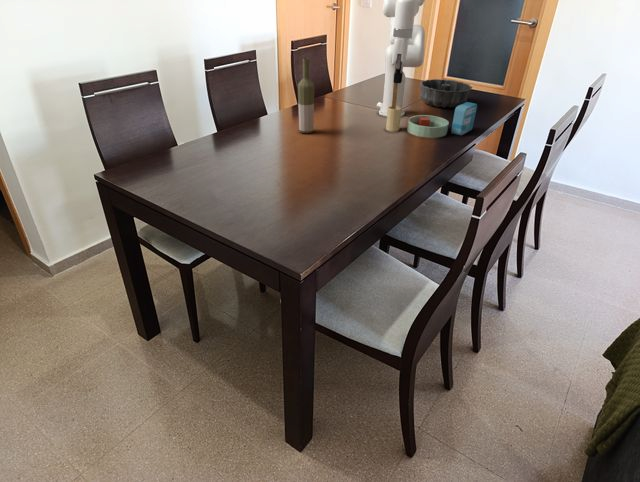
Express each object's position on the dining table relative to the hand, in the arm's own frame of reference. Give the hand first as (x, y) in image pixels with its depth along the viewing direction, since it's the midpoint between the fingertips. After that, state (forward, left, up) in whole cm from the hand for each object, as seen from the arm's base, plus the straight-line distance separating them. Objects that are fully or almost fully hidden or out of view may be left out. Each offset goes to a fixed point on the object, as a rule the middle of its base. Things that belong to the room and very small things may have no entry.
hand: (397, 82), depth 179 cm
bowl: (+12, +9, -21) cm, 25 cm away
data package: (+23, +20, -21) cm, 37 cm away
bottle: (-25, -29, -21) cm, 44 cm away
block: (+8, +13, -20) cm, 25 cm away
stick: (0, 0, -11) cm, 11 cm away
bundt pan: (-7, +55, -21) cm, 59 cm away
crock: (0, 0, -21) cm, 21 cm away
